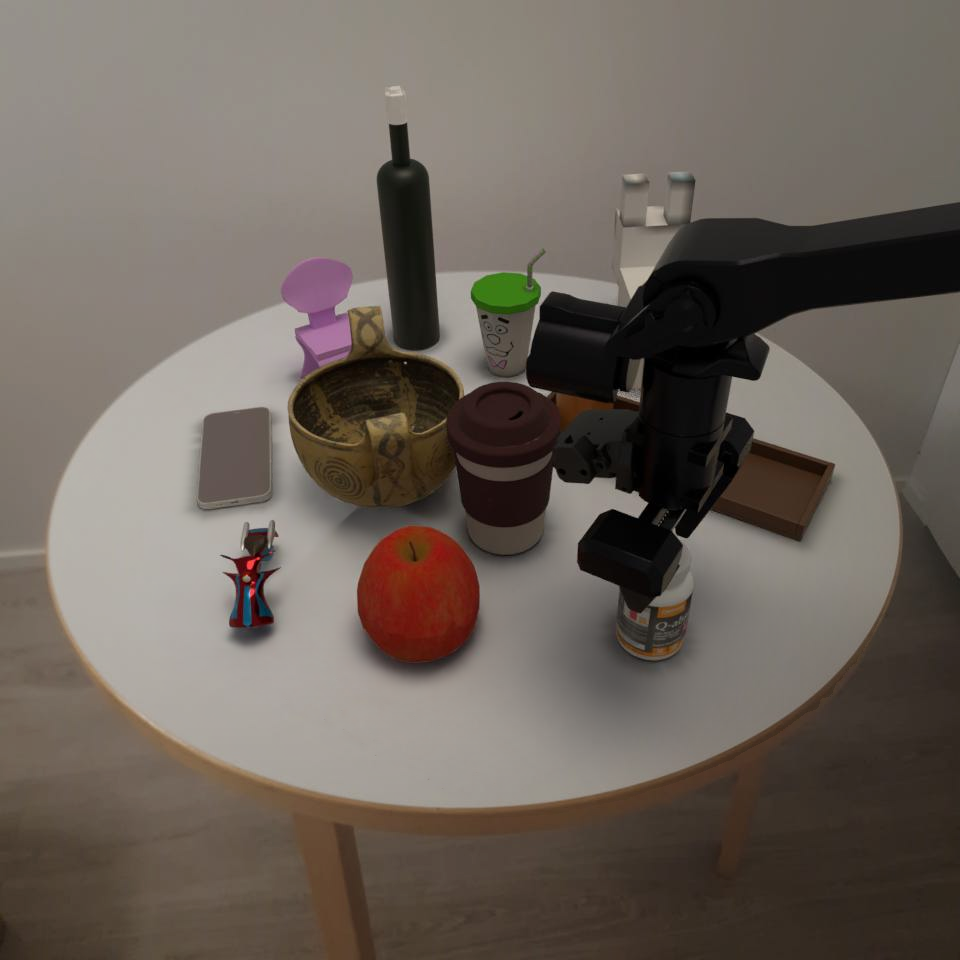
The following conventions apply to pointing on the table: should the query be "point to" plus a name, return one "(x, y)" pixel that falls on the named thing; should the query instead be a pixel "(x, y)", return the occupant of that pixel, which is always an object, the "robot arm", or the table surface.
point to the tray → (768, 485)
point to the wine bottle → (407, 235)
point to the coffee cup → (504, 463)
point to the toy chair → (320, 309)
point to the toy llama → (646, 232)
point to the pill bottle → (658, 617)
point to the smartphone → (235, 458)
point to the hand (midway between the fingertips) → (659, 571)
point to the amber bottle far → (576, 407)
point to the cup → (507, 317)
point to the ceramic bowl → (375, 420)
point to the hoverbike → (252, 578)
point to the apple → (418, 595)
